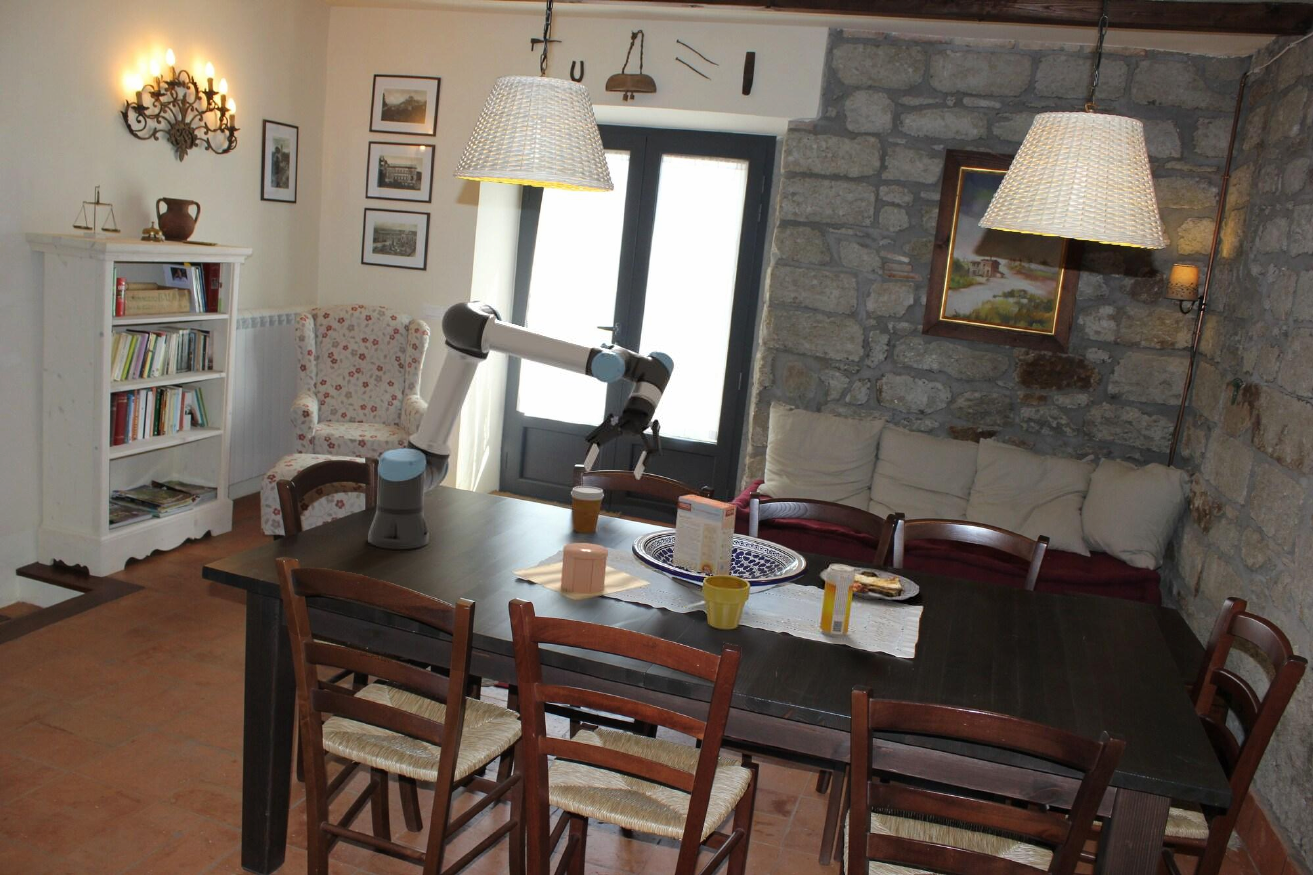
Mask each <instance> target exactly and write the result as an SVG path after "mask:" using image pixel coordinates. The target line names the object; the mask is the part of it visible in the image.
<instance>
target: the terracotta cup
mask: <svg viewBox="0 0 1313 875" xmlns="http://www.w3.org/2000/svg"><path fill="white" fill-rule="evenodd" d="M562 551H563V552H562V554H563V555H562V562H563V565H562V578H561V588H564V589H566V590H568V591H571V592H575V593H586V594H592V593H596V592H601V591H604V584H605V572H606V566H607V560H608V559H607V558H608V555H609V554H608V553H609V550H608V548H607V547H605V546H603V545H600V544H599V545H598V544H595V543H588V542H574V543H569V544H566V545H564V546H563V550H562Z"/></svg>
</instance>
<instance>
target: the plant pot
mask: <svg viewBox="0 0 1313 875" xmlns="http://www.w3.org/2000/svg"><path fill="white" fill-rule="evenodd" d="M750 591H751V583H750V582H749V581H748V580H746V579H744V578H741V577H737V576H733V575H729V576H727V575H713V576H708V577H706V578H704V580H703V587H702V592H701V594H702V597H703V598H704V601H705V608H706V617H707V624H708V625H709V626H711V627H712V628H715V629H719V630H733V629H734V630H735V629H736V628H738V627H739V624H740V620H741V617H742V614H743V611H744V607H745V604H746V603H747V602H748V600H749V598H750Z"/></svg>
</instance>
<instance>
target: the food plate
mask: <svg viewBox="0 0 1313 875" xmlns="http://www.w3.org/2000/svg"><path fill="white" fill-rule="evenodd" d="M851 567H852V568H854V573H855V579H854V587H853V594H852V595H853V596H857V597H859V598H863V599H864V600H865V599H867V600H868V599H875V600H879V599H881V600H885V601H887V600H891V601H893V600H895V601H896V600H899V601H902V600H907V599H909V598H910V597H915V596H916V595H917V594H919V592H920V586H919V585H918V584H916V583H915V582H913V581H912V580H910V579H909V578H906V577H903V576H901V575H897V574H893V573H891V572H887V571H886V570H882V569H881V570H880V569H875V568H867V567H857V566H851ZM827 569H828V568H825V569H823V570H822V571H821V572H820V573H819V576H818V577H819V578H820V579H821V580H823V582H824V583H826V574H827ZM899 592H900V596H899ZM888 596H889V597H888Z"/></svg>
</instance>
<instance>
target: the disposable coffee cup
mask: <svg viewBox="0 0 1313 875" xmlns="http://www.w3.org/2000/svg"><path fill="white" fill-rule="evenodd" d="M570 494H571V501H572V502H571V503H572V522H573V526H572V527H573V531H575V532H577V533H581V534H592V533H595V532H597V531H596V529H597V526H598V525H597V524H598V521H599V516H600V510H601V508H602V507H601V506H602V501H603V498H604V496H605V494H604V490H603V489H602V488H599V487H595V486H588V485H580V486H575V487H573V488H572V491H570Z"/></svg>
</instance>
